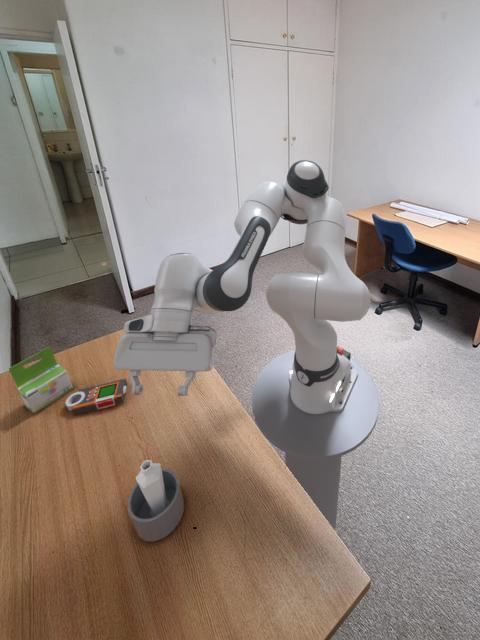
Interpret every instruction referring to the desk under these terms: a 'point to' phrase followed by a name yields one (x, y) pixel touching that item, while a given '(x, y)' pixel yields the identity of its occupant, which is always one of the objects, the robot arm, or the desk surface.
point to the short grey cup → (166, 520)
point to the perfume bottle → (153, 487)
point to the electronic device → (97, 397)
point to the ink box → (41, 380)
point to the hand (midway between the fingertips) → (159, 395)
